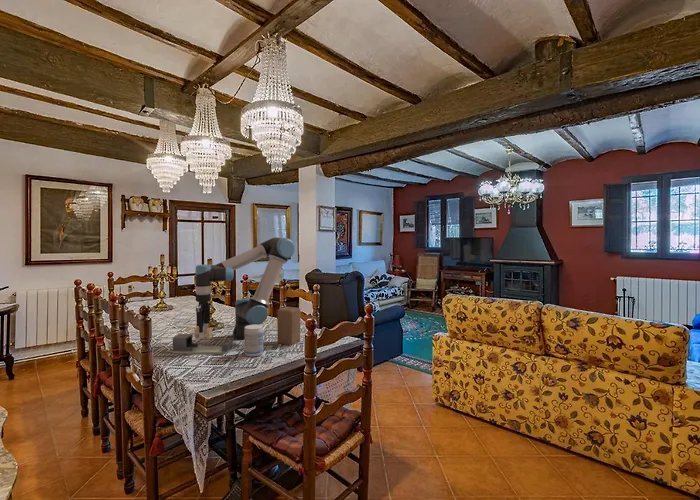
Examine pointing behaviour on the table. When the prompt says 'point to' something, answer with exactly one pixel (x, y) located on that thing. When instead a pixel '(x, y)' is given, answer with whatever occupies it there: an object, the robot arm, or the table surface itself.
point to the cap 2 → (227, 346)
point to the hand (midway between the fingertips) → (203, 336)
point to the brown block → (206, 332)
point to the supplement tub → (253, 340)
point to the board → (204, 350)
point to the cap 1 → (183, 342)
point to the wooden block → (288, 325)
